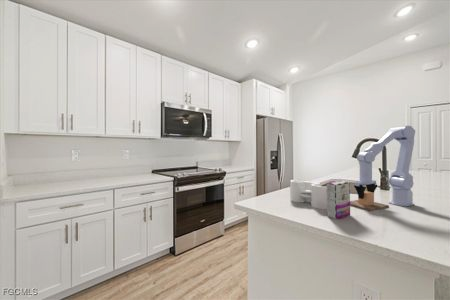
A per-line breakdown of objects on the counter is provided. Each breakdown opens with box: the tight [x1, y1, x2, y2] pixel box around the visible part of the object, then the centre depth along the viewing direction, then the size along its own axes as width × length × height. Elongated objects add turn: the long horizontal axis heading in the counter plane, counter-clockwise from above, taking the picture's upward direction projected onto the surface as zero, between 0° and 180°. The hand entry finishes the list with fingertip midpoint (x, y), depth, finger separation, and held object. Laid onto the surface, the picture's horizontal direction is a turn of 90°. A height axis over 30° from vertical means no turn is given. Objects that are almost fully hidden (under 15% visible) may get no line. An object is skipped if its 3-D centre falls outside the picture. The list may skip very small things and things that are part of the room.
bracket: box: [289, 179, 327, 210], centre depth 119 cm, size 25×10×12 cm, turn 33°
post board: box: [350, 199, 390, 212], centre depth 113 cm, size 16×14×6 cm
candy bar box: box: [326, 180, 351, 220], centre depth 97 cm, size 11×5×16 cm, turn 117°
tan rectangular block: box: [357, 190, 375, 206], centre depth 113 cm, size 5×5×7 cm
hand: (365, 197), depth 113 cm, fingers open, 7 cm apart
